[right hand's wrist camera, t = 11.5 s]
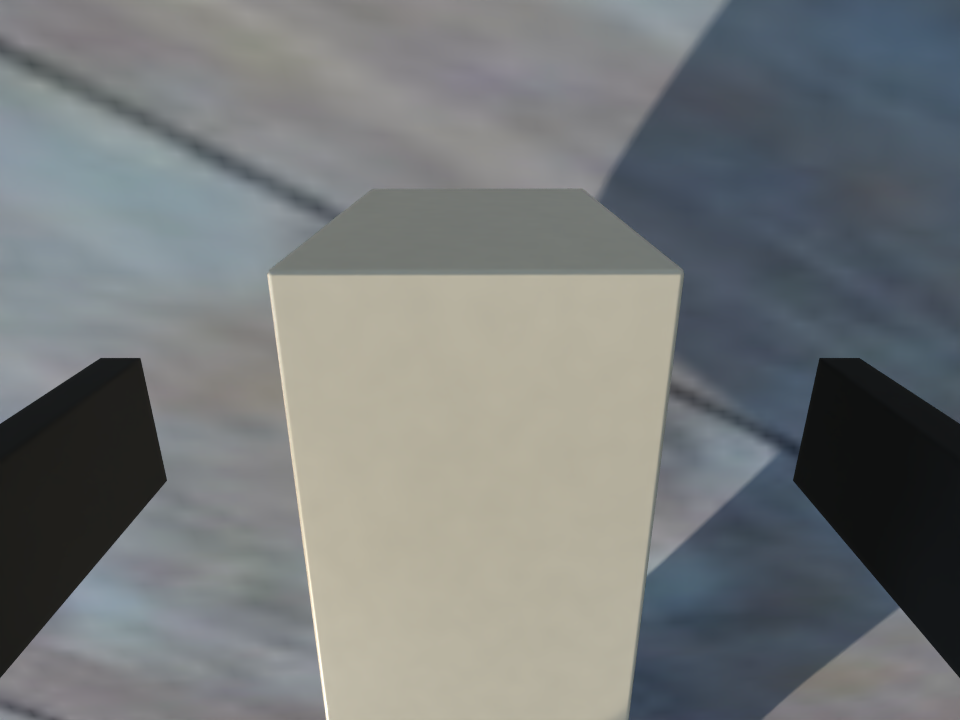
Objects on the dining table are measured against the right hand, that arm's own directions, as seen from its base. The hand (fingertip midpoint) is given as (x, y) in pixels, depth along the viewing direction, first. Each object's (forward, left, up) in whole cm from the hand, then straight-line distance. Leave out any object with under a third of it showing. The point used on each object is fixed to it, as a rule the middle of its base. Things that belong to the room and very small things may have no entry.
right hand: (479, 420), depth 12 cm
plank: (+8, 0, -3) cm, 8 cm away
